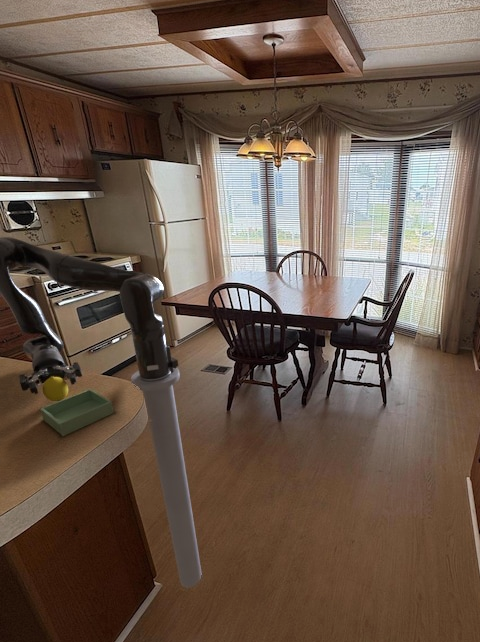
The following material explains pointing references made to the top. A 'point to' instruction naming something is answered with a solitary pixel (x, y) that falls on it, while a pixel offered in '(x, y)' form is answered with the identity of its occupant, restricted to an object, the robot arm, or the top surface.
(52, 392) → the lemon
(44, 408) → the bin
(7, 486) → the top surface
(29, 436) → the top surface
